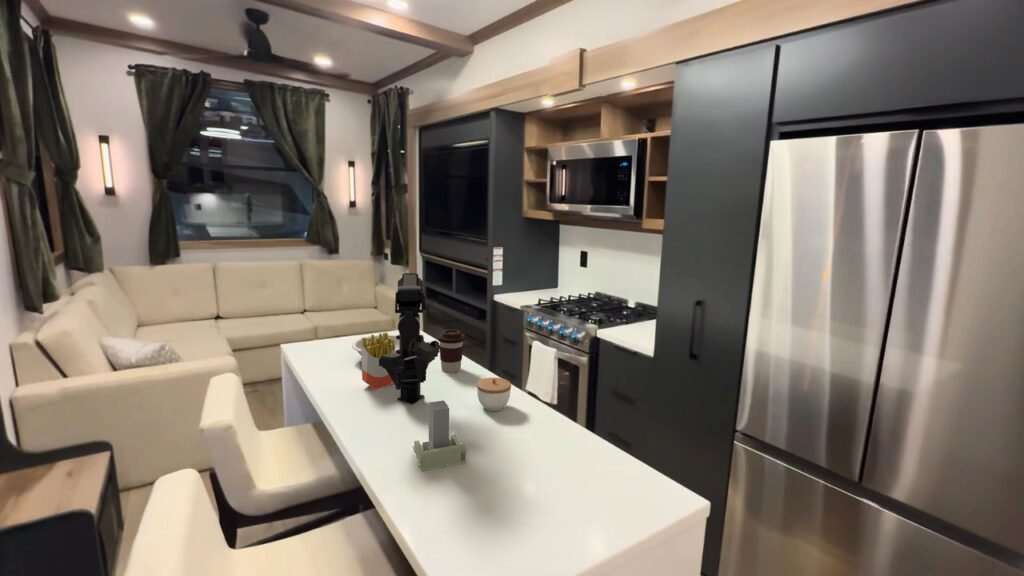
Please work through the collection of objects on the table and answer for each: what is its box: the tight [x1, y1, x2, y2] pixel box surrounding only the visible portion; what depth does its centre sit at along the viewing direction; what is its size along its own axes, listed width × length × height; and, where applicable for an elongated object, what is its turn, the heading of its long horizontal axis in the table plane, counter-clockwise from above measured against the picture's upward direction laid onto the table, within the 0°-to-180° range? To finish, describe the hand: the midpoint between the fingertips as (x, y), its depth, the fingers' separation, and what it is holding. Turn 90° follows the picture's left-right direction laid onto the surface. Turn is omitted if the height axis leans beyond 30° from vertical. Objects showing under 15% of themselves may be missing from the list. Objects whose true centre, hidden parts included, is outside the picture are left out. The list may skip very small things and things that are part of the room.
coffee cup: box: [437, 329, 466, 373], centre depth 178 cm, size 10×10×15 cm
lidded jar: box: [476, 377, 512, 412], centre depth 148 cm, size 11×11×9 cm
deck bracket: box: [412, 433, 467, 472], centre depth 119 cm, size 11×11×4 cm
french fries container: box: [361, 331, 396, 390], centre depth 161 cm, size 5×11×18 cm, turn 129°
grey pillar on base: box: [421, 400, 453, 451], centre depth 119 cm, size 6×7×13 cm
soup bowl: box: [351, 334, 400, 357], centre depth 189 cm, size 24×24×7 cm
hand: (409, 386), depth 134 cm, fingers open, 9 cm apart
